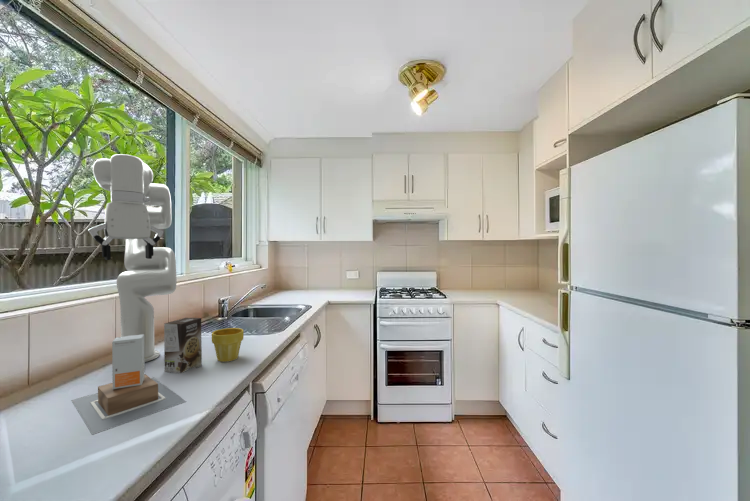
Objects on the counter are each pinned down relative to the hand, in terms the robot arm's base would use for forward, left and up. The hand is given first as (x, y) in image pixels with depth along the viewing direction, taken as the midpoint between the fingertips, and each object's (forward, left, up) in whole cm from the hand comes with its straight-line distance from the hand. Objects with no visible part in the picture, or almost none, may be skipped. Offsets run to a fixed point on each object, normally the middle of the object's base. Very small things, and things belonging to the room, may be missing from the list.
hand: (128, 259), depth 93 cm
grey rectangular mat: (+14, -4, -36) cm, 39 cm away
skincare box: (+14, -4, -32) cm, 35 cm away
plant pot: (+1, +28, -36) cm, 46 cm away
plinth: (+14, -4, -35) cm, 38 cm away
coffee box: (0, +14, -36) cm, 39 cm away
